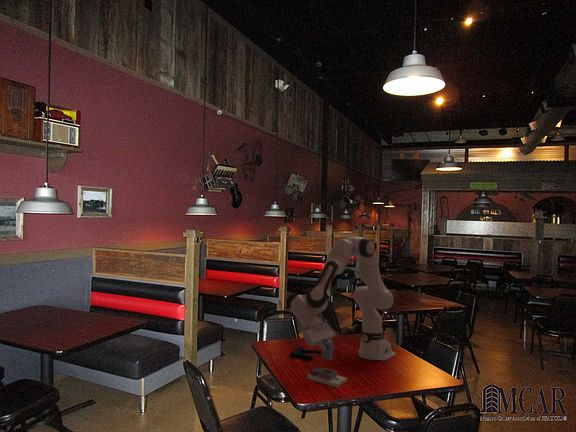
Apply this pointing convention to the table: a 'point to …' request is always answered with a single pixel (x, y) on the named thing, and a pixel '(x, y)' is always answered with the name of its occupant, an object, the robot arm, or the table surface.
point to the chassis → (326, 377)
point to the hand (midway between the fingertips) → (328, 349)
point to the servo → (329, 353)
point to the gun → (301, 353)
